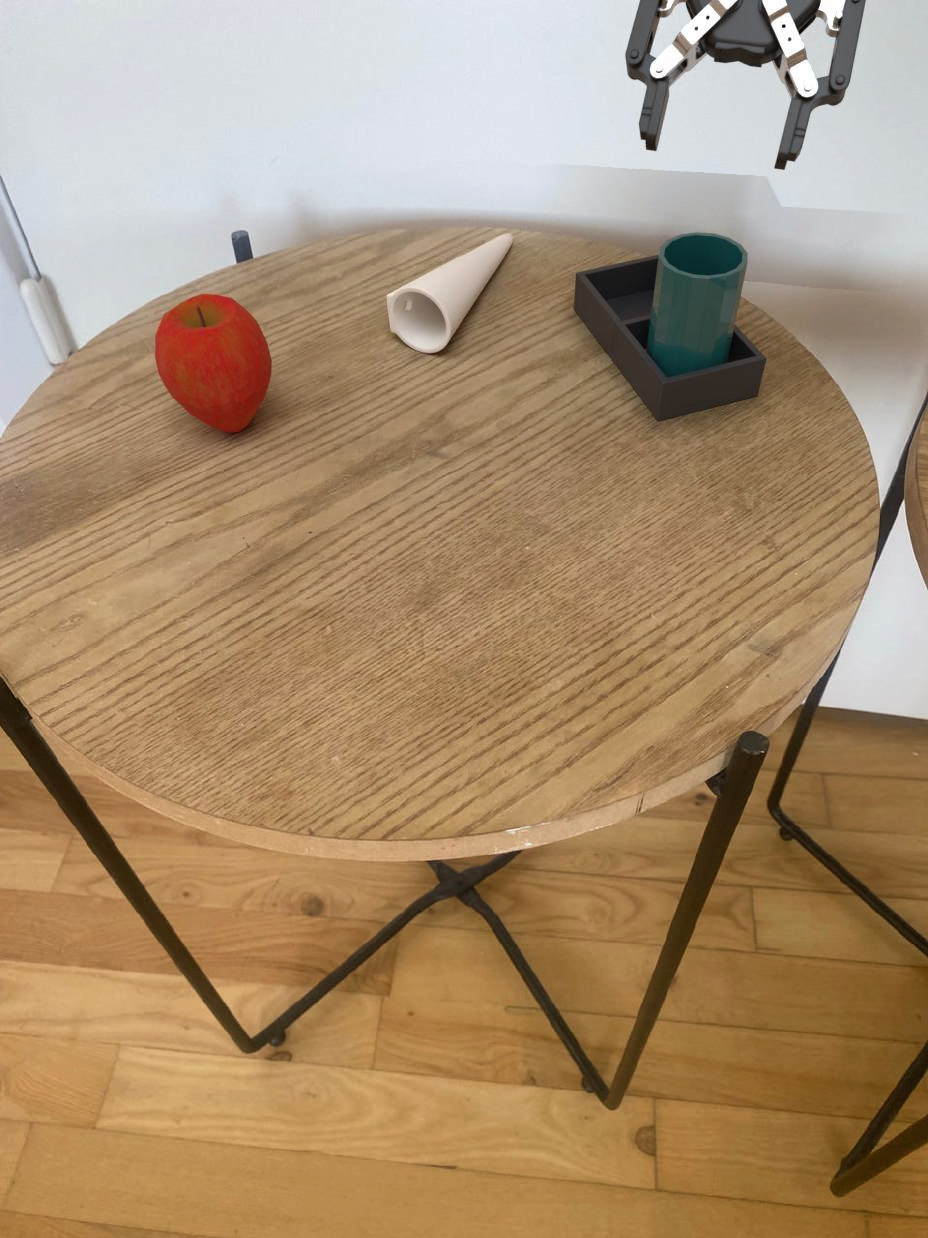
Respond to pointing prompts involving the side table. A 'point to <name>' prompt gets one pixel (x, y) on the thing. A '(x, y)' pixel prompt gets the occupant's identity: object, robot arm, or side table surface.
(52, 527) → the side table surface
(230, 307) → the apple
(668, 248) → the cutlery cup
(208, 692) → the side table surface
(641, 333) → the divided tray
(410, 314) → the long cone
